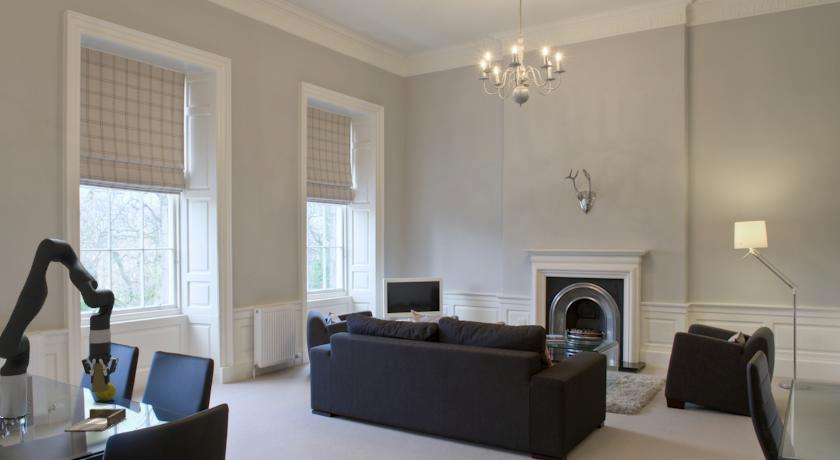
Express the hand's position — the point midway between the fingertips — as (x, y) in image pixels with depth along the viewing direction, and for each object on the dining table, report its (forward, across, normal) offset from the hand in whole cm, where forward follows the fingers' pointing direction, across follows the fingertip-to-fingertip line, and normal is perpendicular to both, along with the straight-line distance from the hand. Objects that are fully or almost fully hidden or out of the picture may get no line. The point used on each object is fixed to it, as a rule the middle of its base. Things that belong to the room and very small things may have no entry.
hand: (100, 384), depth 241 cm
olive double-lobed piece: (+2, 0, 0) cm, 2 cm away
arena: (+15, 0, +2) cm, 15 cm away
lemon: (+15, +16, -33) cm, 40 cm away
